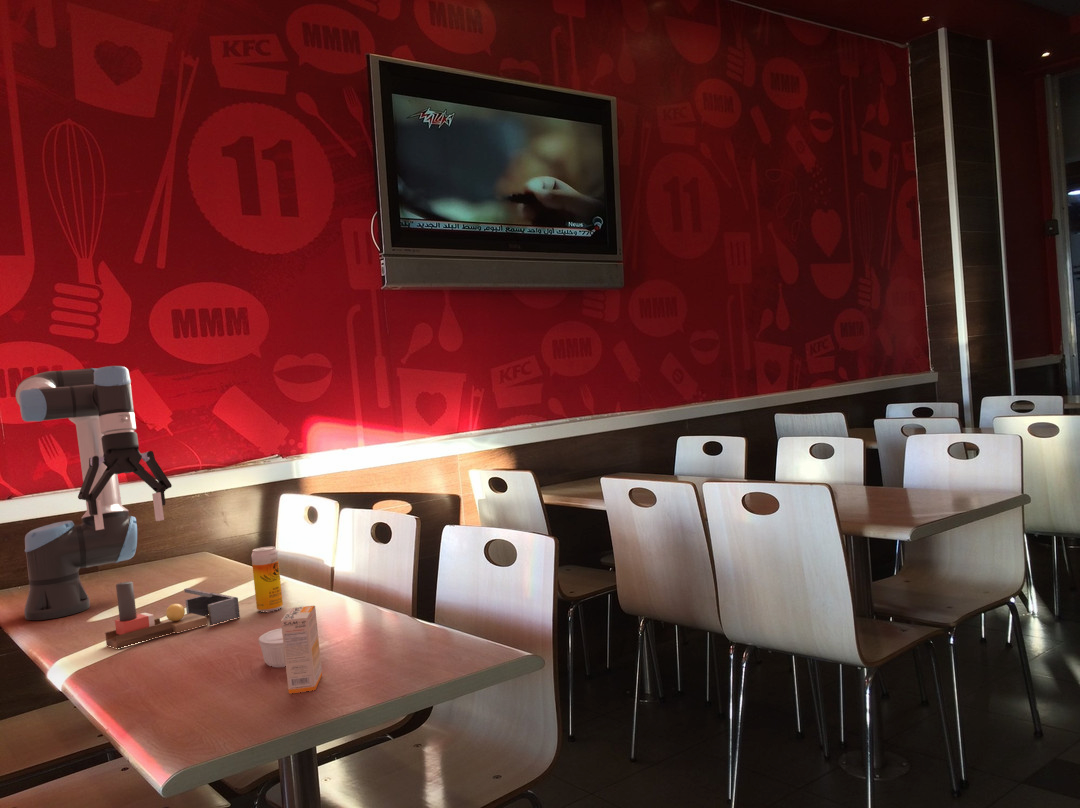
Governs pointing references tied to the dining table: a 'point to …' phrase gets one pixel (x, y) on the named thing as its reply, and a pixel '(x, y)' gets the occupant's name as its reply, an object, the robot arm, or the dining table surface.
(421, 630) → the dining table surface
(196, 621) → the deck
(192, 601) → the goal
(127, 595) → the post on red base
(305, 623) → the supplement box
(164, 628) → the rail
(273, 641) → the ramekin
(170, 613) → the ball
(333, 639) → the dining table surface
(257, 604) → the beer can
